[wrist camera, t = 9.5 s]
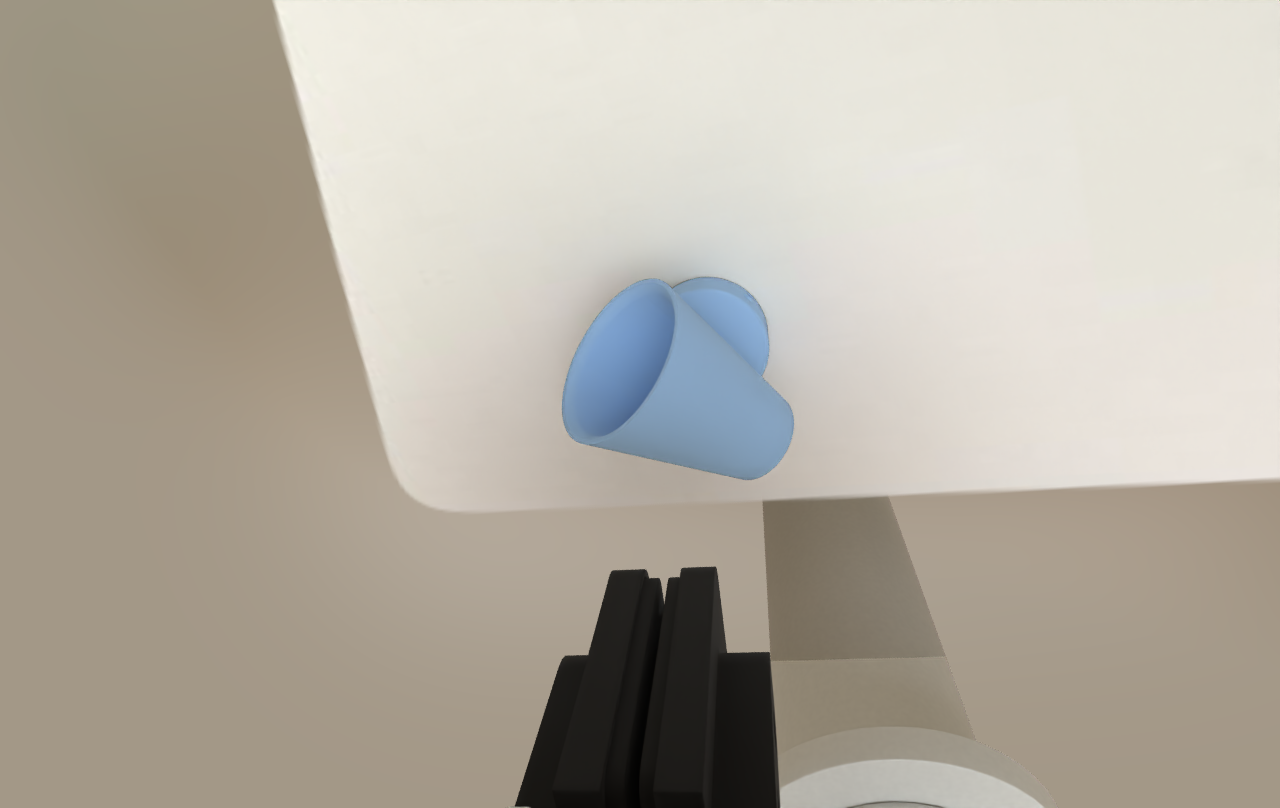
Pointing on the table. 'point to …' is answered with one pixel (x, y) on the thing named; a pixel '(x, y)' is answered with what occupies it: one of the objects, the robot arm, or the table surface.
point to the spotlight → (680, 380)
